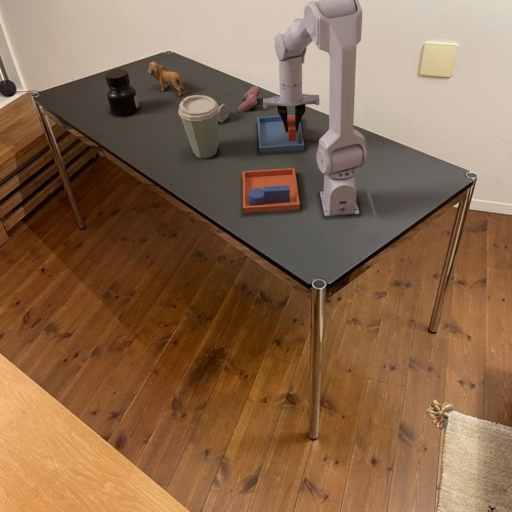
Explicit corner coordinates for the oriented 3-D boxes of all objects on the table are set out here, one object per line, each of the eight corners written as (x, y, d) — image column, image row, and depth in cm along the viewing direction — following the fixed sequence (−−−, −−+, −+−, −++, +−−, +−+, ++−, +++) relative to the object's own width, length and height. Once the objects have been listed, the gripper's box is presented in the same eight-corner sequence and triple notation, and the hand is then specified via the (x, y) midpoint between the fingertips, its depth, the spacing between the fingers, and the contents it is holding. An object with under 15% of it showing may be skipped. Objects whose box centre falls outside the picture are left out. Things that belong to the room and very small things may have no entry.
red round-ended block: (299, 140, 137) (299, 128, 134) (285, 141, 137) (284, 130, 134) (296, 123, 144) (296, 111, 141) (282, 124, 144) (282, 112, 141)
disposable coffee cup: (230, 145, 142) (224, 95, 132) (215, 166, 135) (208, 114, 125) (196, 140, 145) (188, 91, 135) (179, 160, 138) (169, 109, 128)
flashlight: (179, 115, 157) (176, 99, 154) (189, 108, 161) (187, 91, 157) (219, 125, 151) (217, 109, 147) (229, 117, 154) (227, 101, 150)
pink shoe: (249, 118, 156) (258, 99, 152) (236, 111, 156) (245, 92, 151) (256, 103, 163) (265, 85, 159) (243, 97, 163) (251, 78, 158)
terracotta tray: (299, 211, 119) (299, 204, 117) (243, 214, 119) (243, 207, 118) (294, 174, 130) (294, 167, 128) (243, 178, 130) (242, 171, 129)
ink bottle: (145, 109, 162) (137, 72, 153) (123, 120, 157) (113, 82, 149) (127, 100, 167) (118, 64, 159) (105, 111, 162) (95, 74, 154)
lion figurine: (149, 90, 172) (143, 64, 166) (158, 84, 175) (153, 58, 169) (185, 97, 166) (180, 70, 160) (194, 90, 169) (190, 64, 163)
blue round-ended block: (289, 194, 123) (288, 182, 121) (290, 204, 120) (290, 192, 118) (249, 197, 123) (248, 185, 121) (249, 207, 120) (248, 195, 118)
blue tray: (304, 151, 138) (304, 144, 136) (259, 154, 138) (259, 147, 137) (298, 120, 150) (298, 114, 149) (257, 123, 151) (257, 117, 149)
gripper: (317, 73, 131) (316, 121, 141) (261, 77, 132) (264, 124, 141) (320, 85, 126) (319, 134, 135) (262, 89, 126) (265, 137, 136)
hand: (291, 130), depth 138 cm, fingers closed on red round-ended block, 2 cm apart
